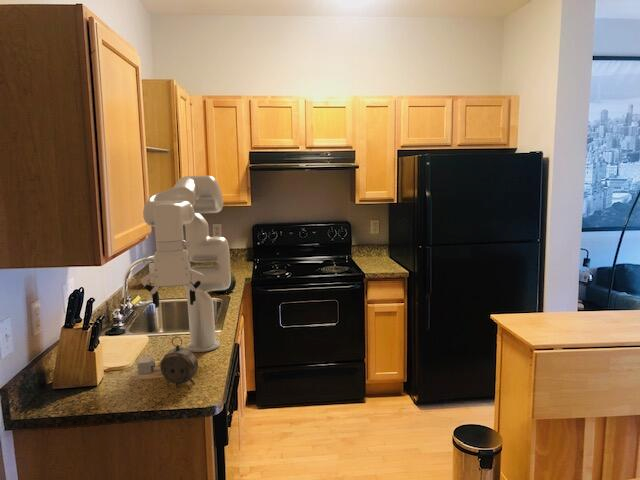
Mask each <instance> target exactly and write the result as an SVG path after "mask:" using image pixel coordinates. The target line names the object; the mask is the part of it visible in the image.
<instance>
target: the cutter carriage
mask: <svg viewBox="0 0 640 480" xmlns="http://www.w3.org/2000/svg"><path fill="white" fill-rule="evenodd" d="M136 366H137V369H138V374H147V373H151V372H152V371H153V370H154V368H156V361H154V357H153V356H152V355H151V356H141V357H139V360H138V361H137V365H136Z"/></svg>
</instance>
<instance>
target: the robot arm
mask: <svg viewBox="0 0 640 480" xmlns="http://www.w3.org/2000/svg"><path fill="white" fill-rule="evenodd" d="M223 208H224V198H223V193H222V190H221V187H220V185H219V183H218V181H217V180H216V178H215V177H214V176H212V175H187V176H183V177H180V178H179V179H178V180H177V181H176V182H175V184H174V185H173V187H171V188H169V189H166V190H162V191H160V192H157V193H155V194H153V195H151V196H150V197H148V199H147V201H146V202H145V204H144V206H143V212H142V215H143V220H144V222H145V224H146V225H148V226H149V227H154V234H155V235H154V236H155V244H156V245H155V246H156V247H155V248H156V251H154V253H153V256H154V264H153V272H152V273H149V274H147V275H145V276H144V277H142V278H141V279H140V282H141V284H142V285H143V286H144V289H146V290H147V291H148V292H149V293H150V294H151V295H152V296H151V297H152V304H153V305H154V308H159V307H160V296H159V295H160V294H159V292H158V290H159V288H170V287H171V288H172V287H181V286H182V287H183V286H184V290H185V293H186V294H185V295H186V300H187V313H188V315H187V316H188V326H189V327H188V328H189V340H190V341H189V342H187V344H186V347H185V348H186V349H188V350H190V351H191V352H192V353H204V352H211V351H213V350H216V349H217V348H219V347H220V345H221V341H220V340H219V339H218V338H216V325H215V324H216V323H215V308H214V300H213V298H212V297H211V295H210V294H209V293H208V292H213V291H215V290H226V289H228V288H229V287H230V283H231V273H232V271H231V254H230V253H231V252H230V246H229V245H230V244H229V241H228V240H227V238H226V237H224V236H210V230H209V229H210V228H209V223H208V221H207V220H206V218H205V217H204V216H203V215H202V214H217V213H220V212H221V211H222V210H223ZM183 226H185V227H183ZM184 228H185V235H184ZM184 237H185V239H184ZM191 262H192V263H214V262H215V263H217V264H216V265H215V264H214V265H194V266H191ZM153 277H154V285H155V286H154V287H153V286H151V283H150V282H148V281H150V279H151V278H153Z"/></svg>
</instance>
